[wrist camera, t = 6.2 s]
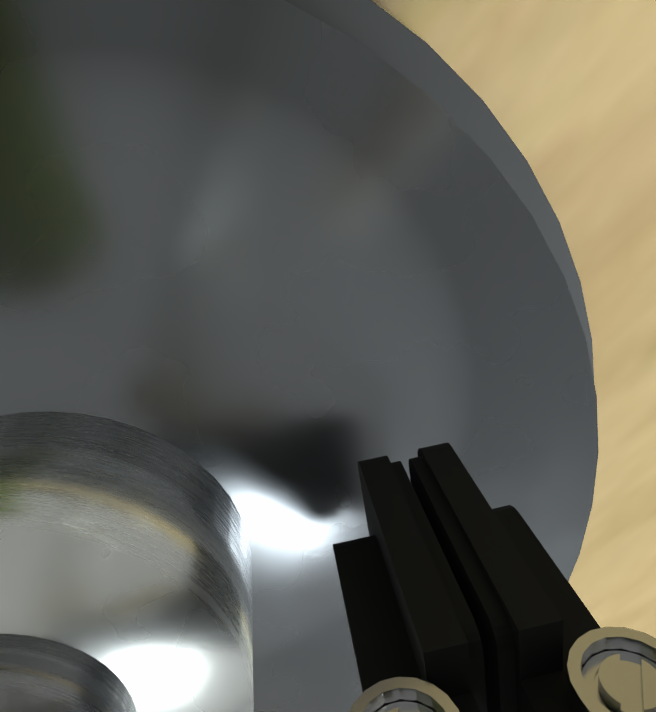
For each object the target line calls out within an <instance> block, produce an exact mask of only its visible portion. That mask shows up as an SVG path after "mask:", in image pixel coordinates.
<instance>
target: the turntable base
mask: <svg viewBox="0 0 656 712" xmlns="http://www.w3.org/2000/svg"><path fill="white" fill-rule="evenodd" d="M285 1H287V2H288V3H290V4H292V5H294V6H296V7H297V8H299V9H301V10H303V11H305V12H306V13H308V14H310V15H312V16H314V17H315V18H317V19H319V20H321V21H322V22H324V23H326V24H328V25H330V26H331V27H333V28H335V29H337V30H339V31H340V32H342V33H344V34H346V35H348V36H349V37H351V38H353V39H355V40H356V41H358V42H359V43H361V44H362V45H363V46H365V47H366V48H367V49H369V50H370V51H371V52H373V53H374V54H375V55H376V56H378V57H379V58H380V59H382V60H383V61H384V62H386V63H387V64H388V65H390V66H391V67H392V68H394V69H395V70H396V71H398V72H399V73H400V74H401V75H403V76H404V77H405V78H407V79H408V80H409V81H411V82H412V83H413V84H415V85H416V86H417V87H419V88H420V89H421V90H423V91H424V92H425V93H426V94H428V95H429V96H430V97H431V98H432V99H433V100H434V101H435V102H436V103H437V104H438V105H439V106H440V107H441V108H442V109H443V110H444V111H445V112H446V113H447V114H448V115H449V116H450V117H451V118H452V119H453V120H454V121H455V122H456V123H457V124H458V125H459V126H460V127H461V128H462V129H463V130H464V131H465V132H466V133H467V134H468V135H469V136H470V137H471V138H472V139H473V140H474V141H475V142H476V144H477V145H478V146H479V147H480V148H481V149H482V150H483V151H484V152H485V153H486V154H487V155H488V156H489V157H490V159H491V160H492V161H493V163H494V164H495V166H496V167H497V168H498V170H499V171H500V172H501V174H502V175H503V176H504V178H505V179H506V181H507V182H508V183H509V185H510V186H511V187H512V189H513V190H514V191H515V193H516V194H517V196H518V197H519V198H520V200H521V201H522V202H523V204H524V205H525V206H526V208H527V209H528V211H529V212H530V213H531V215H532V216H533V218H534V220H535V222H536V224H537V226H538V228H539V229H540V231H541V233H542V235H543V237H544V239H545V241H546V243H547V245H548V247H549V248H550V250H551V252H552V254H553V256H554V258H555V260H556V262H557V264H558V266H559V267H560V269H561V271H562V273H563V275H564V277H565V280H566V282H567V285H568V288H569V291H570V294H571V297H572V300H573V303H574V306H575V308H576V311H577V314H578V317H579V320H580V323H581V326H582V329H583V332H584V334H585V337H586V342H587V348H588V353H589V359H590V364H591V369H592V375H593V380H594V373H593V353H592V338H591V333H590V328H589V323H588V318H587V313H586V308H585V303H584V298H583V293H582V288H581V282H580V279H579V277H578V274H577V271H576V268H575V265H574V262H573V260H572V257H571V254H570V251H569V248H568V245H567V243H566V240H565V237H564V234H563V231H562V228H561V226H560V223H559V221H558V219H557V217H556V215H555V213H554V211H553V209H552V207H551V205H550V203H549V202H548V200H547V198H546V196H545V194H544V192H543V190H542V188H541V186H540V185H539V183H538V181H537V179H536V177H535V175H534V173H533V171H532V169H531V167H530V166H529V164H528V162H527V160H526V159H525V157H524V156H523V155H522V153H521V152H520V151H519V149H518V148H517V146H516V145H515V144H514V142H513V141H512V140H511V138H510V137H509V136H508V134H507V133H506V131H505V130H504V129H503V127H502V126H501V125H500V123H499V122H498V120H497V119H496V118H495V116H494V115H493V114H492V112H491V111H490V109H489V108H488V107H487V105H486V104H485V103H484V101H483V100H482V99H481V98H480V97H479V96H478V95H477V94H476V93H475V92H474V91H473V90H472V89H471V88H470V87H469V86H468V85H467V84H466V83H465V82H464V81H463V80H462V79H461V78H460V77H459V76H458V75H457V74H456V72H455V71H454V70H453V69H452V68H451V67H450V66H449V65H448V64H447V63H446V62H445V61H444V60H443V59H442V58H441V57H440V56H439V55H438V54H437V53H436V52H435V51H434V50H433V49H432V48H431V47H430V46H429V45H428V44H427V43H426V42H425V41H423V40H422V39H421V38H419V37H418V36H417V35H416V34H414V33H413V32H412V31H410V30H409V29H408V28H406V27H405V26H404V25H402V24H401V23H400V22H399V21H397V20H396V19H395V18H393V17H392V16H391V15H389V14H388V13H387V12H386V11H384V10H383V9H382V8H380V7H379V6H378V5H376V4H375V3H374V2H373V1H371V0H285Z"/></svg>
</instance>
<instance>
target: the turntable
mask: <svg viewBox="0 0 656 712" xmlns="http://www.w3.org/2000/svg"><path fill="white" fill-rule="evenodd" d="M46 411H53V412H67V413H80V414H86V415H91V416H96V417H102V418H107V419H111V420H114V421H118V422H121V423H124V424H128V425H131V426H134V427H137V428H139V429H141V430H144V431H146V432H148V433H151V434H153V435H155V436H158V437H160V438H162V439H163V440H165V441H167V442H169V443H170V444H172V445H174V446H176V447H177V448H179V449H181V450H182V451H184V452H185V453H186V454H188V455H189V456H190V457H192V458H193V459H194V460H196V461H197V462H198V463H200V464H201V465H202V466H203V467H204V468H205V469H206V470H207V471H208V472H209V473H210V474H211V475H212V476H213V477H214V478H215V479H216V480H217V481H218V482H219V483H220V484H221V486H222V487H223V488H224V490H225V491H226V492H227V493H228V495H229V496H230V497H231V499H232V501H233V503H234V504H235V506H236V508H237V510H238V511H239V513H240V515H241V518H242V520H243V523H244V526H245V528H246V531H247V534H248V539H249V544H250V549H251V569H252V634H253V702H254V712H350V710H351V708H352V705H353V703H354V702H355V701H356V700H357V699H358V698H359V697H360V695H361V694H362V693H363V692H362V687H361V682H360V678H359V673H358V668H357V663H356V658H355V653H354V649H353V644H352V639H351V634H350V629H349V624H348V620H347V615H346V610H345V605H344V600H343V595H342V590H341V585H340V580H339V575H338V570H337V565H336V560H335V555H334V550H333V544H337V543H341V542H346V541H350V540H355V539H359V538H364V537H368V536H369V532H368V525H367V519H366V513H365V507H364V501H363V495H362V489H361V483H360V477H359V470H358V461H363V460H367V459H372V458H377V457H381V456H386V455H387V456H388V458H389V460H390V462H391V463H392V462H397V461H401V462H402V464H403V466H404V469H405V471H406V473H407V475H408V477H409V479H410V472H409V459H411V458H415V457H418V454H417V453H418V449H419V448H423V447H428V446H433V445H438V444H442V443H449V444H450V445H451V446H452V448H453V449H454V451H455V452H456V454H457V455H458V457H459V459H460V460H461V462H462V463H463V465H464V466H465V468H466V469H467V471H468V473H469V474H470V476H471V477H472V479H473V480H474V482H475V483H476V485H477V487H478V488H479V490H480V491H481V493H482V494H483V496H484V498H485V499H486V501H487V502H488V504H489V505H490V507H491V508H492V509H494V508H498V507H503V506H507V505H511V506H513V507H515V509H516V510H517V511H518V512H519V513H520V515H521V516H522V517H523V519H524V520H525V522H526V523H527V524H528V526H529V527H530V529H531V530H532V532H533V533H534V534H535V536H536V537H537V539H538V540H539V541H540V543H541V544H542V546H543V547H544V549H545V550H546V551H547V553H548V554H549V556H550V557H551V558H552V560H553V561H554V563H555V564H556V566H557V567H558V568H559V570H560V571H561V573H562V574H563V575H564V577H565V578H566V580H567V581H569V578H570V576H571V573H572V571H573V568H574V566H575V564H576V561H577V559H578V556H579V554H580V550H581V546H582V542H583V538H584V534H585V531H586V527H587V523H588V519H589V515H590V511H591V508H592V502H593V494H594V485H595V476H596V468H597V459H598V428H597V397H596V391H595V386H594V380H593V375H592V369H591V364H590V359H589V353H588V348H587V342H586V337H585V334H584V332H583V329H582V326H581V323H580V320H579V317H578V314H577V311H576V308H575V306H574V303H573V300H572V297H571V294H570V291H569V288H568V285H567V282H566V280H565V277H564V275H563V273H562V271H561V269H560V267H559V266H558V264H557V262H556V260H555V258H554V256H553V254H552V252H551V250H550V248H549V247H548V245H547V243H546V241H545V239H544V237H543V235H542V233H541V231H540V229H539V228H538V226H537V224H536V222H535V220H534V218H533V216H532V215H531V213H530V212H529V211H528V209H527V208H526V206H525V205H524V204H523V202H522V201H521V200H520V198H519V197H518V196H517V194H516V193H515V191H514V190H513V189H512V187H511V186H510V185H509V183H508V182H507V181H506V179H505V178H504V176H503V175H502V174H501V172H500V171H499V170H498V168H497V167H496V166H495V164H494V163H493V161H492V160H491V159H490V157H489V156H488V155H487V154H486V153H485V152H484V151H483V150H482V149H481V148H480V147H479V146H478V145H477V144H476V142H475V141H474V140H473V139H472V138H471V137H470V136H469V135H468V134H467V133H466V132H465V131H464V130H463V129H462V128H461V127H460V126H459V125H458V124H457V123H456V122H455V121H454V120H453V119H452V118H451V117H450V116H449V115H448V114H447V113H446V112H445V111H444V110H443V109H442V108H441V107H440V106H439V105H438V104H437V103H436V102H435V101H434V100H433V99H432V98H431V97H430V96H429V95H428V94H426V93H425V92H424V91H423V90H421V89H420V88H419V87H417V86H416V85H415V84H413V83H412V82H411V81H409V80H408V79H407V78H405V77H404V76H403V75H401V74H400V73H399V72H398V71H396V70H395V69H394V68H392V67H391V66H390V65H388V64H387V63H386V62H384V61H383V60H382V59H380V58H379V57H378V56H376V55H375V54H374V53H373V52H371V51H370V50H369V49H367V48H366V47H365V46H363V45H362V44H361V43H359V42H358V41H356V40H355V39H353V38H351V37H349V36H348V35H346V34H344V33H342V32H340V31H339V30H337V29H335V28H333V27H331V26H330V25H328V24H326V23H324V22H322V21H321V20H319V19H317V18H315V17H314V16H312V15H310V14H308V13H306V12H305V11H303V10H301V9H299V8H297V7H296V6H294V5H292V4H290V3H288V2H287V1H285V0H0V416H1V415H8V414H14V413H21V412H46ZM410 482H411V481H410Z"/></svg>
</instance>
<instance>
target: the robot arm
mask: <svg viewBox="0 0 656 712" xmlns="http://www.w3.org/2000/svg"><path fill="white" fill-rule="evenodd" d="M417 454H418V457H415V458H411V459H409V472H410V479H409V477H408V475H407V473H406V471H405V469H404V466H403V464H402V462H401V461H397V462H392V463H391V462H390V460H389V458H388V456H387V455H386V456H381V457H377V458H372V459H367V460H363V461H358V470H359V477H360V483H361V489H362V495H363V501H364V507H365V513H366V519H367V525H368V532H369V536H368V537H364V538H359V539H355V540H350V541H346V542H341V543H337V544H333V550H334V555H335V560H336V565H337V570H338V575H339V580H340V585H341V590H342V595H343V600H344V605H345V610H346V615H347V620H348V624H349V629H350V634H351V639H352V644H353V649H354V653H355V658H356V663H357V668H358V673H359V678H360V682H361V687H362V692H363V693H362V694H361V695H360V697H359V698H358V699H357V700H356V701H355V702H354V703H353V705H352V708H351V710H350V712H656V638H654V637H652V636H650V635H648V634H646V633H644V632H640V631H636V630H633V629H629V628H625V627H603V628H600V626H599V625H598V624H597V622H596V621H595V619H594V618H593V616H592V615H591V614H590V612H589V611H588V609H587V608H586V607H585V605H584V604H583V602H582V601H581V599H580V598H579V597H578V595H577V594H576V592H575V591H574V590H573V588H572V587H571V585H570V584H569V583H568V581H567V580H566V578H565V577H564V575H563V574H562V573H561V571H560V570H559V568H558V567H557V566H556V564H555V563H554V561H553V560H552V558H551V557H550V556H549V554H548V553H547V551H546V550H545V549H544V547H543V546H542V544H541V543H540V541H539V540H538V539H537V537H536V536H535V534H534V533H533V532H532V530H531V529H530V527H529V526H528V524H527V523H526V522H525V520H524V519H523V517H522V516H521V515H520V513H519V512H518V511H517V510H516V509H515V507H513V506H511V505H507V506H503V507H498V508H494V509H492V508H491V507H490V505H489V504H488V502H487V501H486V499H485V498H484V496H483V494H482V493H481V491H480V490H479V488H478V487H477V485H476V483H475V482H474V480H473V479H472V477H471V476H470V474H469V473H468V471H467V469H466V468H465V466H464V465H463V463H462V462H461V460H460V459H459V457H458V455H457V454H456V452H455V451H454V449H453V448H452V446H451V445H450V444H449V443H442V444H438V445H433V446H428V447H423V448H419V449H418V453H417ZM410 481H411V482H410Z"/></svg>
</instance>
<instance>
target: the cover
mask: <svg viewBox="0 0 656 712" xmlns="http://www.w3.org/2000/svg"><path fill="white" fill-rule="evenodd" d="M0 712H254V702H253V634H252V569H251V549H250V544H249V539H248V534H247V531H246V528H245V526H244V523H243V520H242V518H241V515H240V513H239V511H238V510H237V508H236V506H235V504H234V503H233V501H232V499H231V497H230V496H229V495H228V493H227V492H226V491H225V490H224V488H223V487H222V486H221V484H220V483H219V482H218V481H217V480H216V479H215V478H214V477H213V476H212V475H211V474H210V473H209V472H208V471H207V470H206V469H205V468H204V467H203V466H202V465H201V464H200V463H198V462H197V461H196V460H194V459H193V458H192V457H190V456H189V455H188V454H186V453H185V452H184V451H182V450H181V449H179V448H177V447H176V446H174V445H172V444H170V443H169V442H167V441H165V440H163V439H162V438H160V437H158V436H155V435H153V434H151V433H148V432H146V431H144V430H141V429H139V428H137V427H134V426H131V425H128V424H124V423H121V422H118V421H114V420H111V419H107V418H102V417H96V416H91V415H86V414H80V413H67V412H53V411H46V412H21V413H14V414H8V415H1V416H0Z"/></svg>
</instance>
